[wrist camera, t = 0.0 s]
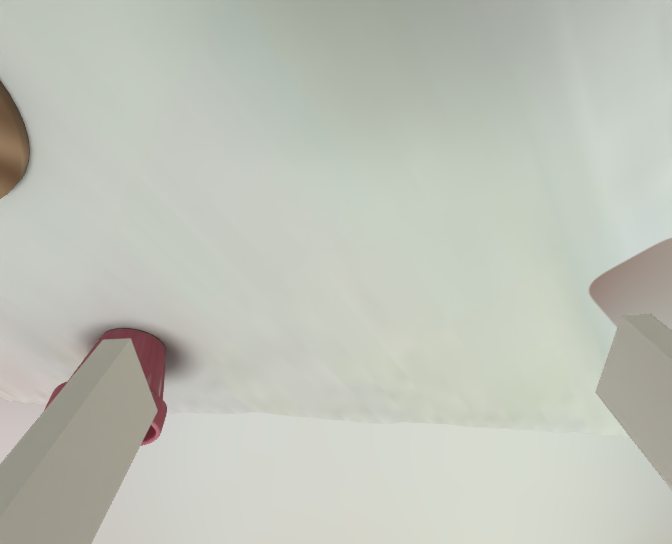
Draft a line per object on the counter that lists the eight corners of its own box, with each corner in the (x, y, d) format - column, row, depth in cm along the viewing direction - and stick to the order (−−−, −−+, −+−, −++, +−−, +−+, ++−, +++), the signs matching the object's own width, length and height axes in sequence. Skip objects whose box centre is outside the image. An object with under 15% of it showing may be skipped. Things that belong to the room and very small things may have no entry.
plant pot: (149, 377, 67) (123, 456, 59) (64, 342, 59) (19, 428, 51) (202, 347, 61) (182, 431, 52) (115, 304, 53) (73, 394, 44)
